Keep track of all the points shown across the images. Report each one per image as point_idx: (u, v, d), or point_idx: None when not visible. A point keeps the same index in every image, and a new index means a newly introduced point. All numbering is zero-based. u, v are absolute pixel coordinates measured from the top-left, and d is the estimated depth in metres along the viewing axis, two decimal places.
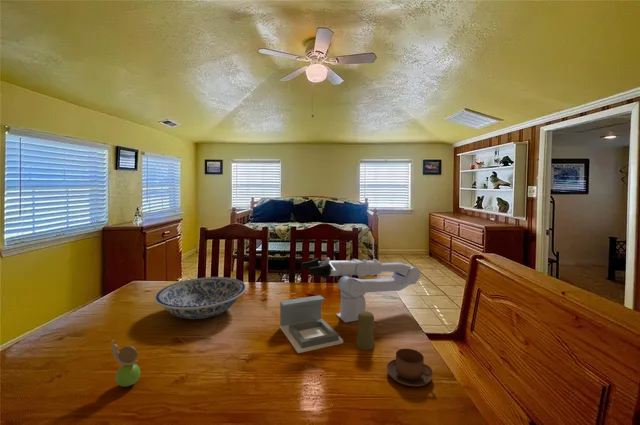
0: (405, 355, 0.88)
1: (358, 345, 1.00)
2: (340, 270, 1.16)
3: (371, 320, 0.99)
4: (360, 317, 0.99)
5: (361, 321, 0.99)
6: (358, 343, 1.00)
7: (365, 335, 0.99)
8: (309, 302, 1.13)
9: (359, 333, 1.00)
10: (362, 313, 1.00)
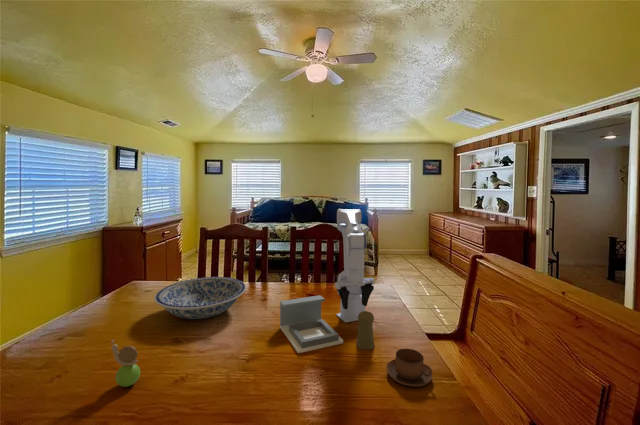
0: (405, 355, 0.88)
1: (358, 345, 1.00)
2: None
3: (371, 320, 0.99)
4: (360, 317, 0.99)
5: (361, 321, 0.99)
6: (358, 343, 1.00)
7: (365, 335, 0.99)
8: (309, 302, 1.13)
9: (359, 333, 1.00)
10: (362, 313, 1.00)
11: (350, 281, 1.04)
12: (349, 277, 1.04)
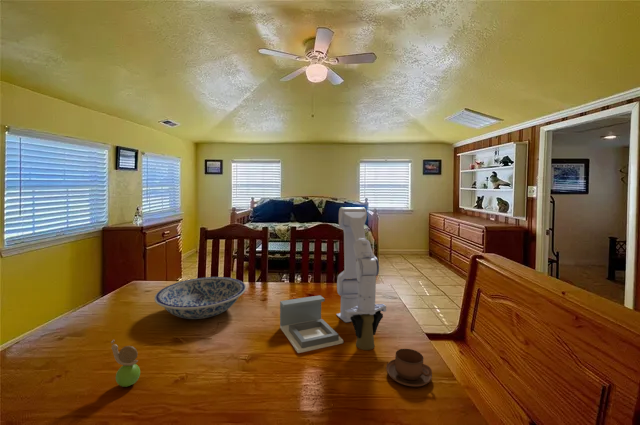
0: (405, 355, 0.88)
1: (358, 345, 1.00)
2: None
3: (371, 320, 0.99)
4: None
5: None
6: (358, 343, 1.00)
7: (365, 335, 0.99)
8: (309, 302, 1.13)
9: None
10: None
11: (361, 309, 0.98)
12: (360, 305, 0.99)
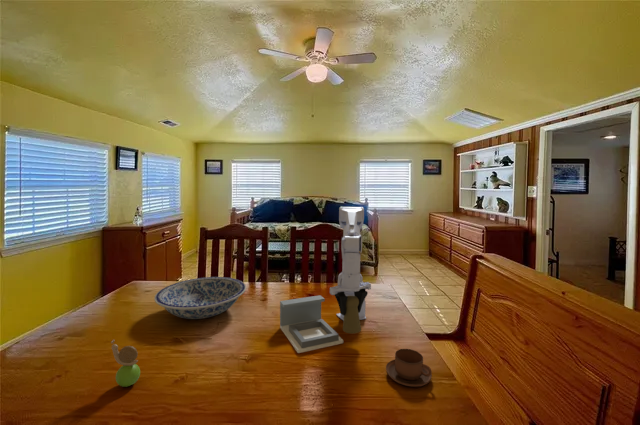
0: (405, 355, 0.88)
1: (345, 329, 1.00)
2: None
3: (356, 303, 0.99)
4: None
5: (346, 305, 1.00)
6: (345, 327, 1.00)
7: (351, 318, 0.99)
8: (309, 302, 1.13)
9: (345, 317, 1.00)
10: None
11: (345, 286, 0.99)
12: (344, 282, 0.99)
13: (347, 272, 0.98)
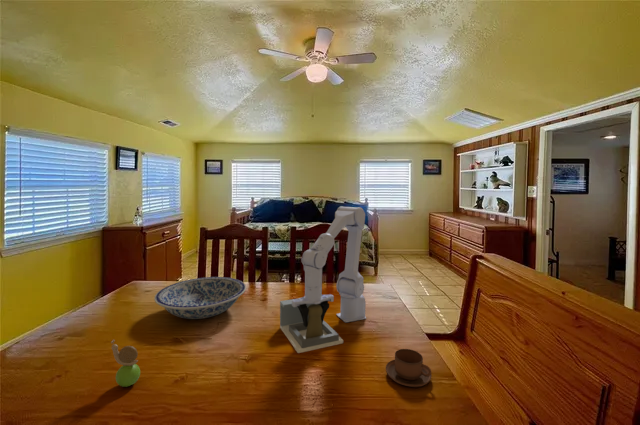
0: (404, 355, 0.88)
1: (307, 337, 1.02)
2: None
3: (320, 312, 1.02)
4: (309, 310, 1.02)
5: (310, 314, 1.02)
6: (307, 336, 1.03)
7: (314, 327, 1.02)
8: None
9: (308, 326, 1.03)
10: (311, 306, 1.03)
11: (307, 299, 1.03)
12: (306, 295, 1.03)
13: (305, 284, 1.03)
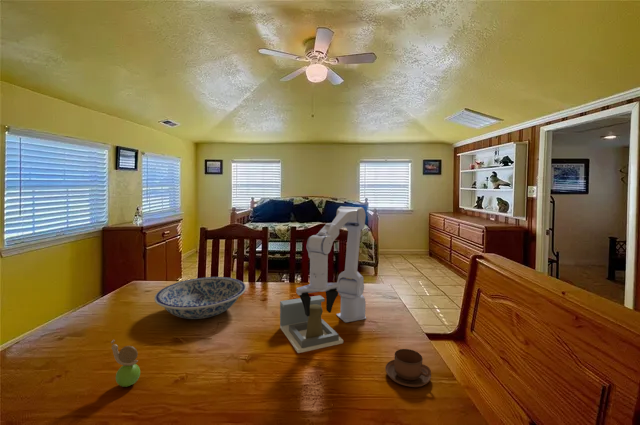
0: (404, 355, 0.88)
1: (307, 337, 1.02)
2: None
3: (320, 312, 1.02)
4: None
5: (310, 314, 1.02)
6: (307, 336, 1.03)
7: (314, 327, 1.02)
8: None
9: (308, 326, 1.03)
10: (311, 306, 1.03)
11: (312, 286, 0.98)
12: (311, 282, 0.98)
13: (311, 271, 0.98)
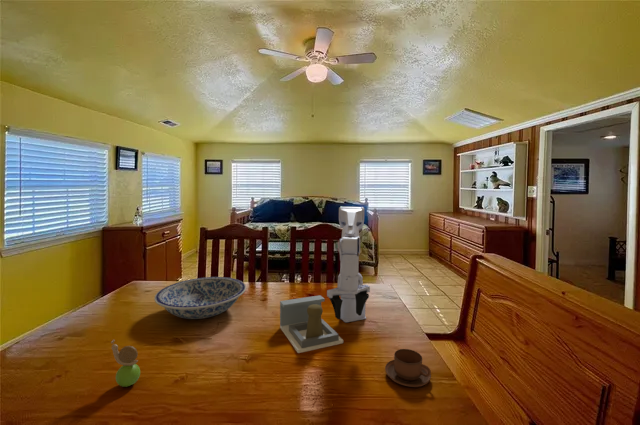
0: (404, 355, 0.88)
1: (308, 337, 1.02)
2: None
3: (320, 312, 1.02)
4: (309, 310, 1.02)
5: (310, 314, 1.02)
6: (307, 336, 1.03)
7: (314, 327, 1.02)
8: (309, 302, 1.13)
9: (308, 326, 1.03)
10: (311, 306, 1.03)
11: (343, 289, 0.96)
12: (342, 285, 0.97)
13: (345, 274, 0.96)
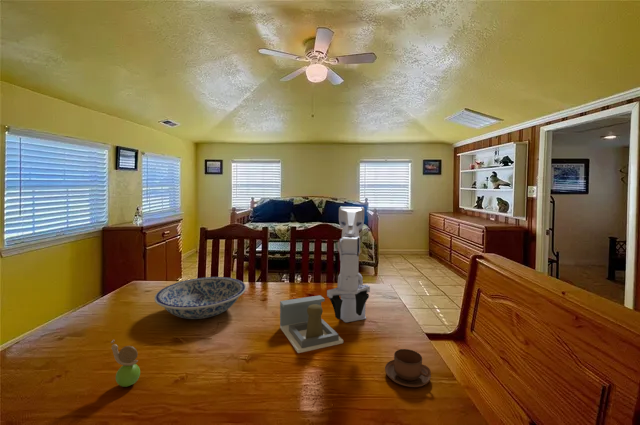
0: (404, 356, 0.88)
1: (307, 337, 1.02)
2: None
3: (320, 312, 1.02)
4: (309, 310, 1.02)
5: (310, 314, 1.02)
6: (307, 336, 1.03)
7: (314, 327, 1.02)
8: (309, 302, 1.13)
9: (308, 326, 1.03)
10: (311, 306, 1.03)
11: (343, 289, 0.96)
12: (342, 285, 0.97)
13: (345, 274, 0.96)
